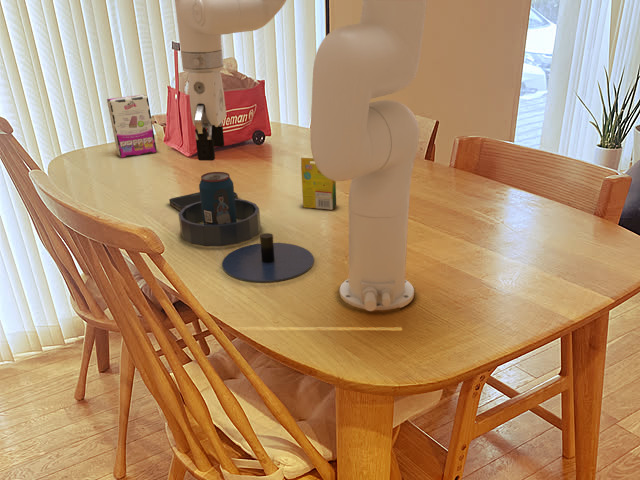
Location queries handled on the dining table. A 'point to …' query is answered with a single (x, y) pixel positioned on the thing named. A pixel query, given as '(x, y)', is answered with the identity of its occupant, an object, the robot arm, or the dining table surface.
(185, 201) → the phone
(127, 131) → the candy bar box
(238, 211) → the pot
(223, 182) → the soda can
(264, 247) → the lid
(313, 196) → the crayon box
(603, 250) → the dining table surface
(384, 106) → the robot arm
